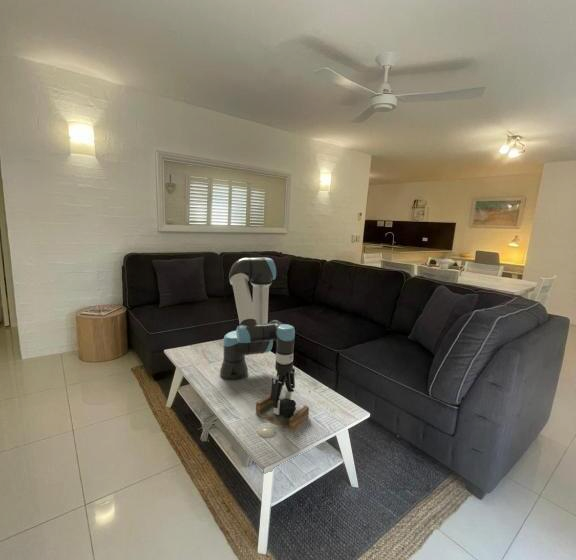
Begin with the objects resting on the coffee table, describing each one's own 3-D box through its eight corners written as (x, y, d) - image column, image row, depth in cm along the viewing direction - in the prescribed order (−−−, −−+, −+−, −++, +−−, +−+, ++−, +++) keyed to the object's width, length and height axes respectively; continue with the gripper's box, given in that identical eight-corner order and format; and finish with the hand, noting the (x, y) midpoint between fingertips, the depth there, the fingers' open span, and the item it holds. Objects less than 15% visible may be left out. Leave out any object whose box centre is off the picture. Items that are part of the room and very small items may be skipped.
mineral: (271, 418, 130) (271, 405, 128) (272, 405, 138) (273, 393, 137) (295, 419, 129) (296, 407, 128) (295, 406, 138) (296, 395, 137)
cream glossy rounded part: (252, 432, 125) (252, 430, 125) (264, 422, 132) (264, 420, 131) (268, 440, 121) (268, 439, 120) (279, 429, 127) (279, 428, 127)
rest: (255, 412, 137) (256, 402, 136) (272, 400, 147) (273, 390, 146) (292, 432, 126) (293, 420, 125) (308, 417, 135) (308, 407, 134)
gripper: (276, 372, 121) (274, 424, 125) (304, 355, 137) (301, 401, 142) (262, 366, 125) (260, 416, 130) (291, 350, 142) (288, 395, 146)
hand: (282, 408), depth 136 cm, fingers closed on mineral, 8 cm apart
